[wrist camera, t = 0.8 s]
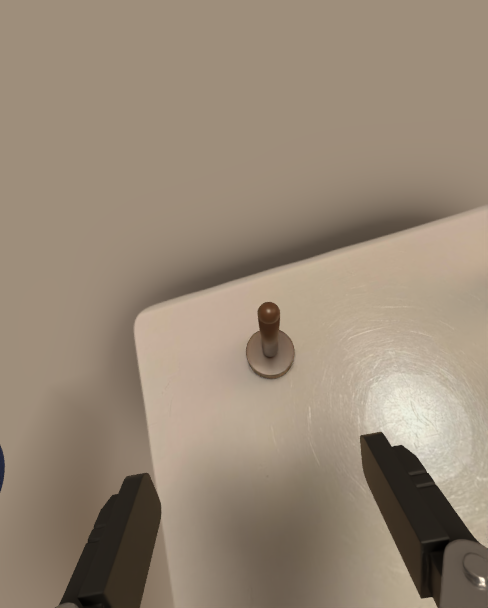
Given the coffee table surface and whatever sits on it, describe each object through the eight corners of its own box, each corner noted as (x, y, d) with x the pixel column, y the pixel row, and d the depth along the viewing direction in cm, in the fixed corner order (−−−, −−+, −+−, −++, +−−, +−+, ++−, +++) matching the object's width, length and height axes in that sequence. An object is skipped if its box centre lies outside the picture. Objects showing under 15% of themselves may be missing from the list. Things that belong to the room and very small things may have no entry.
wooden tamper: (250, 381, 33) (234, 350, 19) (245, 336, 35) (228, 280, 21) (296, 375, 33) (313, 341, 19) (289, 331, 35) (300, 271, 21)
